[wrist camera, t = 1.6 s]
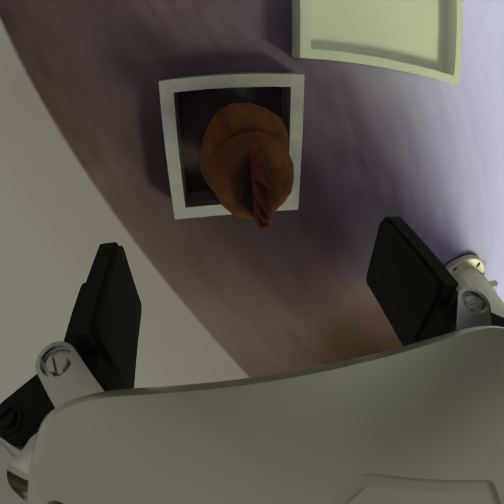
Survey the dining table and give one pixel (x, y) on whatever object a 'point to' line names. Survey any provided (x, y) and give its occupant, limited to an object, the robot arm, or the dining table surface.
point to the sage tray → (382, 34)
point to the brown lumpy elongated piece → (247, 161)
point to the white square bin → (169, 87)
